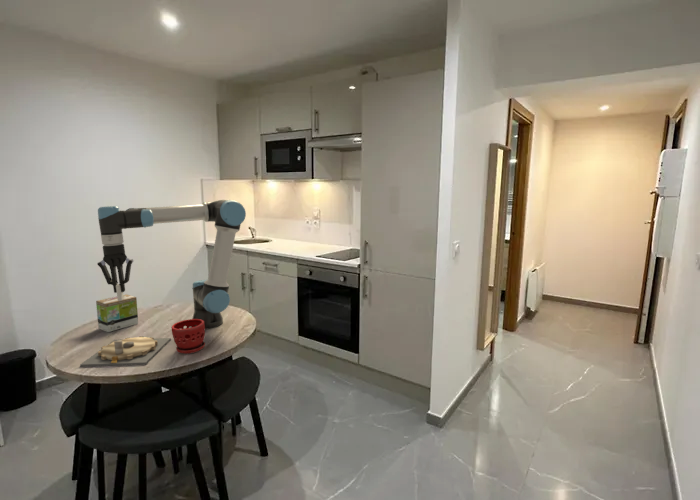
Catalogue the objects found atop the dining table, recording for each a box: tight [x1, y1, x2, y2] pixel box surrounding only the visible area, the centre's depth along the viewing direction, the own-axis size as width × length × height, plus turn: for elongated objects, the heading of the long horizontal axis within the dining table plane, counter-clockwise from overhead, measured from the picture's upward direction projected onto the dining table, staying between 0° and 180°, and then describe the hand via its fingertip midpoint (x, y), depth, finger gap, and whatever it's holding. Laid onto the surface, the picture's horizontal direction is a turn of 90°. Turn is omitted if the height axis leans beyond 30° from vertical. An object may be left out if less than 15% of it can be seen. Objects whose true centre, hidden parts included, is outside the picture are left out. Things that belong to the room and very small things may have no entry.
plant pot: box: [171, 318, 206, 355], centre depth 165 cm, size 13×13×12 cm
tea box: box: [95, 293, 139, 333], centre depth 193 cm, size 15×10×15 cm
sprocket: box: [97, 335, 158, 361], centre depth 162 cm, size 22×22×6 cm
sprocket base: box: [79, 337, 172, 368], centre depth 163 cm, size 25×25×2 cm
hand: (120, 299), depth 160 cm, fingers closed
